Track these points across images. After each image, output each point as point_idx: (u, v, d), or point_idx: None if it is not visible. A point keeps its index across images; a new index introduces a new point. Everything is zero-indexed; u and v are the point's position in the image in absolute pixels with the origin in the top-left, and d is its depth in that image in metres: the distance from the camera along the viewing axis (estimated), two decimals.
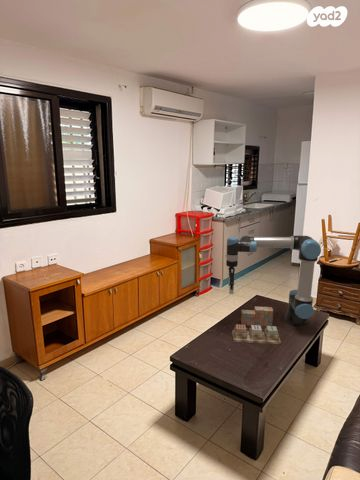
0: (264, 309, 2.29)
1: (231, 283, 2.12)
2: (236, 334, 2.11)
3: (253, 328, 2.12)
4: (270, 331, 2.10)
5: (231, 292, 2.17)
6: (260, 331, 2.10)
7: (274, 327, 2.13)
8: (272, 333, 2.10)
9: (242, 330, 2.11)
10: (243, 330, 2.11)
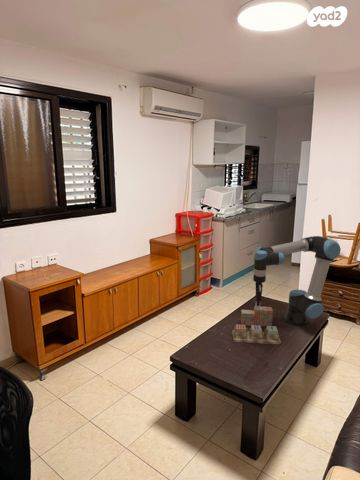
0: (264, 309, 2.29)
1: None
2: (236, 334, 2.11)
3: (253, 328, 2.12)
4: (270, 331, 2.10)
5: (257, 308, 2.09)
6: (260, 331, 2.10)
7: (274, 327, 2.13)
8: (272, 333, 2.10)
9: (242, 330, 2.11)
10: (243, 330, 2.11)
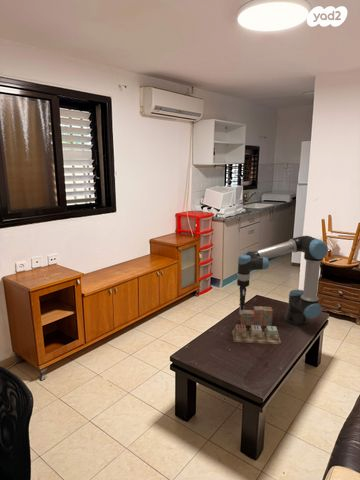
0: (263, 309, 2.30)
1: (242, 303, 2.07)
2: (236, 334, 2.11)
3: (253, 328, 2.12)
4: (270, 331, 2.10)
5: (241, 312, 2.11)
6: (260, 331, 2.10)
7: (274, 327, 2.13)
8: (272, 333, 2.10)
9: (242, 330, 2.11)
10: (243, 330, 2.11)
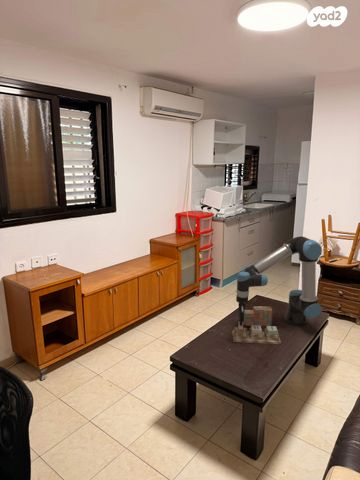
0: (263, 309, 2.30)
1: (241, 320, 2.09)
2: (236, 334, 2.11)
3: (253, 328, 2.12)
4: (270, 331, 2.10)
5: (240, 328, 2.14)
6: (260, 331, 2.10)
7: (274, 327, 2.13)
8: (272, 333, 2.10)
9: None
10: None
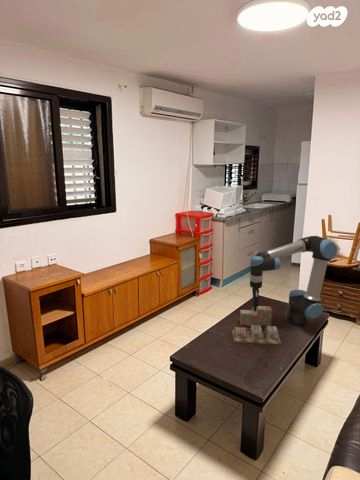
0: (263, 308, 2.30)
1: (255, 305, 2.06)
2: (236, 334, 2.11)
3: (253, 328, 2.12)
4: (270, 331, 2.10)
5: (255, 314, 2.11)
6: (260, 331, 2.10)
7: (274, 327, 2.13)
8: (272, 333, 2.10)
9: None
10: None
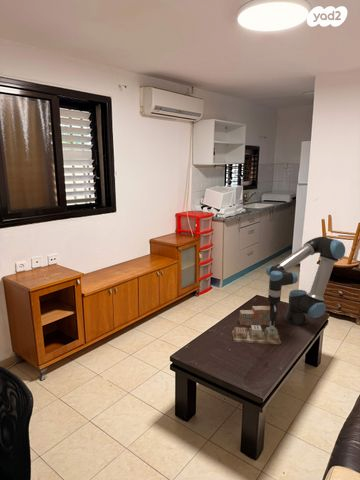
0: (262, 308, 2.31)
1: None
2: (236, 334, 2.11)
3: (253, 328, 2.12)
4: (270, 332, 2.10)
5: (272, 328, 2.11)
6: (260, 331, 2.10)
7: (274, 328, 2.13)
8: (272, 334, 2.10)
9: None
10: None
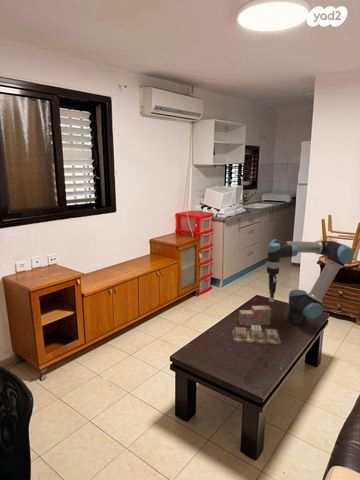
0: (262, 308, 2.31)
1: None
2: (236, 334, 2.11)
3: (253, 328, 2.12)
4: None
5: (271, 300, 2.13)
6: (260, 331, 2.10)
7: (274, 331, 2.14)
8: None
9: None
10: None
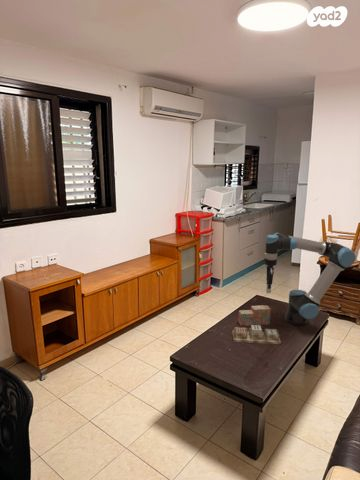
0: (261, 308, 2.31)
1: None
2: (236, 334, 2.11)
3: (253, 328, 2.12)
4: None
5: (268, 291, 2.16)
6: (260, 331, 2.10)
7: (274, 331, 2.14)
8: None
9: None
10: None
